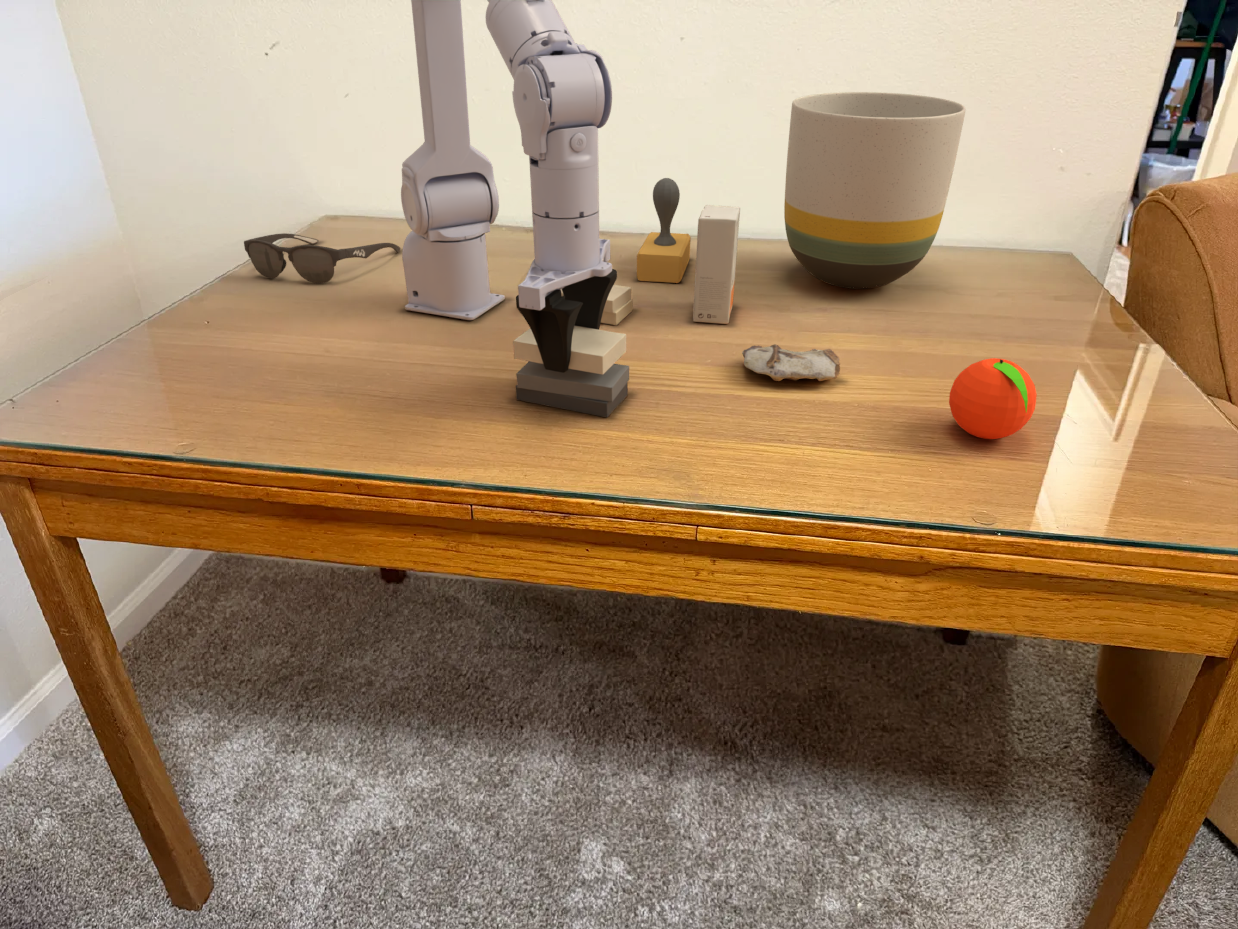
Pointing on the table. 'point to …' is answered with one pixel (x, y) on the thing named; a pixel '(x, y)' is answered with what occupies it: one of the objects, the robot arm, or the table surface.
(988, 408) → the clementine
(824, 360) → the stone
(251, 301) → the table surface
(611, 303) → the white books
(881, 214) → the planter
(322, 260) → the sunglasses
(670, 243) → the rubber stamp
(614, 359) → the cream rectangular block
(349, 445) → the table surface
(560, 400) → the grey books
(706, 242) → the cosmetic box
